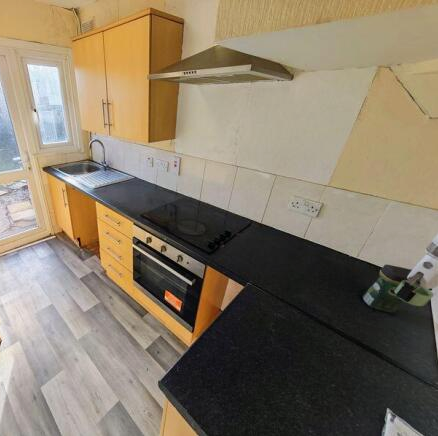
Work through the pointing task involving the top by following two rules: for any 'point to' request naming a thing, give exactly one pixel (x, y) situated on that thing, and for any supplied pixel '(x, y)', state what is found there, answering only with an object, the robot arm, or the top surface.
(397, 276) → the coffee jar
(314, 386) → the top surface
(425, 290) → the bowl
